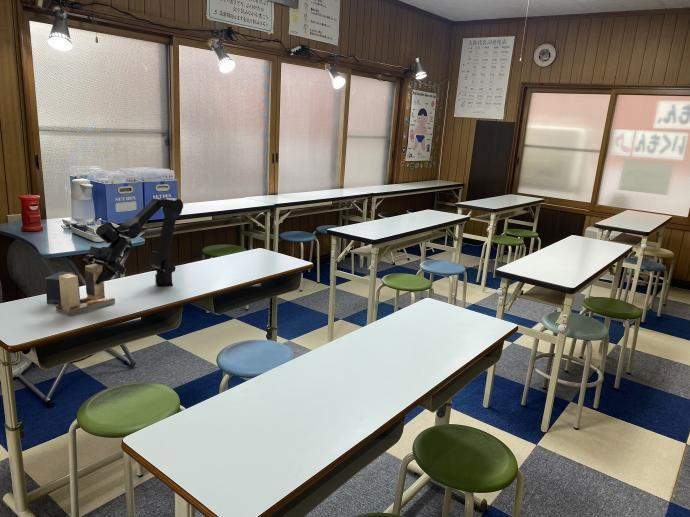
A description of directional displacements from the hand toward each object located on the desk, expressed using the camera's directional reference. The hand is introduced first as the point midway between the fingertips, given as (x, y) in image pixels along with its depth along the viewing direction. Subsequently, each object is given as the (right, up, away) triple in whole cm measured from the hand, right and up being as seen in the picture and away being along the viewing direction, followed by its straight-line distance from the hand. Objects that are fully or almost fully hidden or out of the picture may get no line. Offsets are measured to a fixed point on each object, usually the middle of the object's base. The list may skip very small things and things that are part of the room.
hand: (91, 282), depth 195 cm
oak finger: (0, -6, +3) cm, 7 cm away
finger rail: (-2, -9, 0) cm, 10 cm away
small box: (-15, -8, +5) cm, 17 cm away
